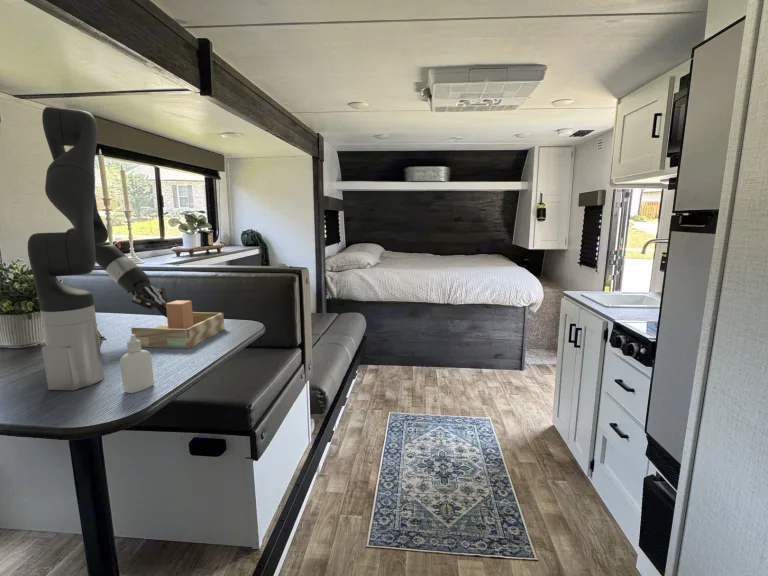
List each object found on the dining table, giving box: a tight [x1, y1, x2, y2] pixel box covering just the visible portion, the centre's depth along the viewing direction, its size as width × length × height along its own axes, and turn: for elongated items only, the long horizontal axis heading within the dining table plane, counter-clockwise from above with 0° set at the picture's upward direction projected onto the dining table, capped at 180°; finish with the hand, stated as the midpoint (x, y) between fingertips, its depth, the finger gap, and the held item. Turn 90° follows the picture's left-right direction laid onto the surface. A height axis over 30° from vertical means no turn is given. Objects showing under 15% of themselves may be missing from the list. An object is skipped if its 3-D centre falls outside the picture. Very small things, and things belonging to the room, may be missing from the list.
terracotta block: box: [165, 299, 194, 329], centre depth 122 cm, size 5×5×8 cm
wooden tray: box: [131, 311, 225, 350], centre depth 122 cm, size 20×17×6 cm
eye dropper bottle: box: [119, 334, 155, 394], centre depth 85 cm, size 4×6×12 cm
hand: (170, 315), depth 122 cm, fingers closed
